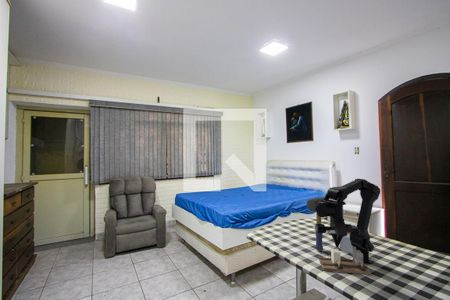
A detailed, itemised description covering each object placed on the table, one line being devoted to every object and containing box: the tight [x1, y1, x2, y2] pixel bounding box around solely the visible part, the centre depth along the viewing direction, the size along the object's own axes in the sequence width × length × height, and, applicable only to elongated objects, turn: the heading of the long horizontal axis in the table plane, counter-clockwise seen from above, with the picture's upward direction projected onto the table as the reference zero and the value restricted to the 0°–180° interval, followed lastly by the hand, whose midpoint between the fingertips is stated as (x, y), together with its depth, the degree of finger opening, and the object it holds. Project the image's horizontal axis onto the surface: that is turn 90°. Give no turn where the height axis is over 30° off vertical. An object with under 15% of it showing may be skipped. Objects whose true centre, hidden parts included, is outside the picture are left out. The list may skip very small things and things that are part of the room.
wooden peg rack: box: [318, 250, 372, 275], centre depth 104 cm, size 9×20×7 cm, turn 80°
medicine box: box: [339, 234, 356, 255], centre depth 121 cm, size 8×4×9 cm, turn 27°
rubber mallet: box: [306, 196, 325, 252], centre depth 122 cm, size 12×8×30 cm, turn 116°
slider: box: [330, 248, 341, 267], centre depth 105 cm, size 7×3×6 cm, turn 170°
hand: (337, 247), depth 104 cm, fingers closed
